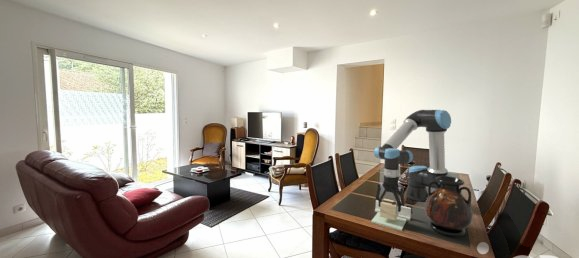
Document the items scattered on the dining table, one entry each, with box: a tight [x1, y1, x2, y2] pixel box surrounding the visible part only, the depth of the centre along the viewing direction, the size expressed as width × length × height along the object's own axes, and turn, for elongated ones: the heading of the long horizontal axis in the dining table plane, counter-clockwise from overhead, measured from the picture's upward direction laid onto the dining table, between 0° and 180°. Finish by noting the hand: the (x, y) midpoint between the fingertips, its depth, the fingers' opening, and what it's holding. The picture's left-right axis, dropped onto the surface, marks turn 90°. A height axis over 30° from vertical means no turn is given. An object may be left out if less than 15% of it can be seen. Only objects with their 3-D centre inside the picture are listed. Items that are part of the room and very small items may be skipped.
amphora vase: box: [423, 176, 474, 238], centre depth 125 cm, size 22×22×28 cm
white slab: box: [374, 199, 412, 221], centre depth 143 cm, size 3×20×6 cm, turn 54°
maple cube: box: [380, 198, 398, 220], centre depth 134 cm, size 8×8×8 cm
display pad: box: [371, 212, 407, 232], centre depth 135 cm, size 14×16×1 cm
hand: (389, 214), depth 134 cm, fingers closed on maple cube, 8 cm apart
